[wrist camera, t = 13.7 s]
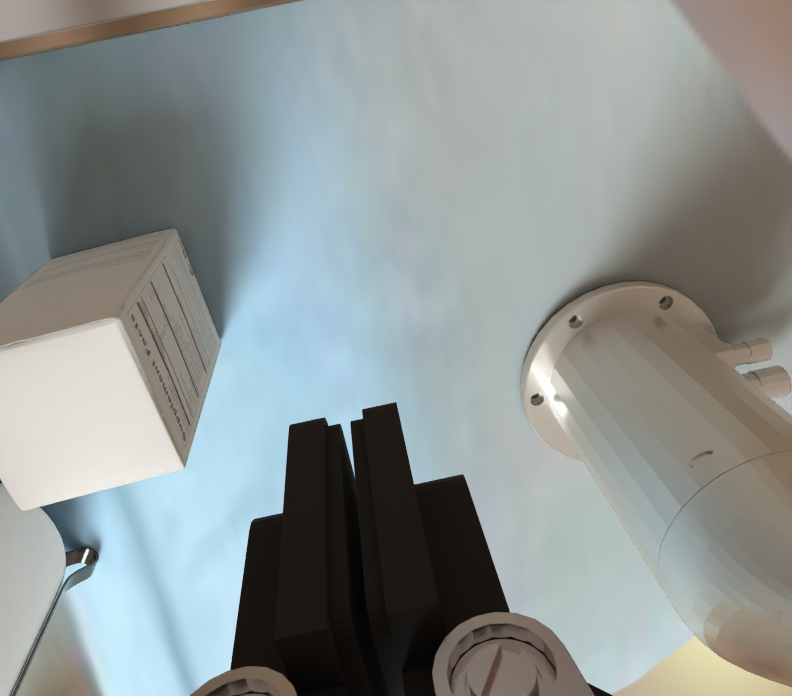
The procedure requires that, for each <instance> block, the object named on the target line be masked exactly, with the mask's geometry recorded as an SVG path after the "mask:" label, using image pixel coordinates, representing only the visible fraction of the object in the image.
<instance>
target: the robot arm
mask: <svg viewBox="0 0 792 696" xmlns="http://www.w3.org/2000/svg"><path fill="white" fill-rule="evenodd" d="M573 316H574V317H573ZM571 317H573V319H571ZM570 319H571V320H570ZM772 354H773V352H772V347H771V344H770V342H769V341H768V340H767V339H766V338H759V339H754V340H749V341H745V342H742V343H740V344H736V345H731V346H730V345H729V344H728V343H723V342H722V341H720V340H719V339H718V338H717V336H716V333H715V330H714V327H713V325H712V323H711V322H710V320H709V319H708V317H707V316H706V314H705V313H704V311H703V310H702V309H701V308H700V307H698V306H697V305H696V304H695V303H694V302H693V301H692V300H690V299H689V298H687V297H686V296H684V295H683V294H681V293H680V292H678V291H677V290H674V289H672V288H669V287H667V286H664V285H662V284H656V283H650V282H644V281H635V282H621V283H616V284H611V285H606V286H603V287H600V288H598V289H595V290H593V291H590V292H588V293H585V294H584V295H582V296H580V297H579V298H577V299H575V300H574V301H572V302H570V303H569V304H567V305H566V306H565V307H564V308H562V309H561V310H560V311H559V312H558V313H556V314H555V315H554V316H553V317H552V318H551V319H550V320H549V321H548V323H547V324H546V325H545V326H544V327H543V328H542V330H541V331H540V332H539V333H538V335H537V337H536V338H535V340H534V342H533V344H532V345H531V347H530V349H529V351H528V354H527V357H526V359H525V362H524V365H523V370H522V376H521V382H520V385H521V400H522V403H523V407H524V410H525V414H526V416H527V418H528V420H529V422H530V424H531V426H532V427H533V429H534V430H535V432H536V433H537V434H538V436H539V437H540V439H541V440H542V441H543V442H545V443H546V444H547V445H548V446H549V447H550V448H551V449H553V450H554V451H556V452H558V453H560V454H562V455H564V456H565V457H568V458H571V459H574V460H577V461H581V462H583V463H584V465H585V466H586V468H587V469H588V471H589V473H590V474H591V476H592V477H593V479H594V481H595V482H596V484H597V486H598V487H599V489H600V490H601V492H602V494H603V495H604V497H605V498H606V500H607V502H608V503H609V505H610V506H611V508H612V510H613V511H614V513H615V514H616V516H617V518H618V519H619V521H620V522H621V524H622V526H623V527H624V529H625V531H626V532H627V534H628V535H629V537H630V539H631V540H632V542H633V543H634V545H635V547H636V548H637V550H638V551H639V553H640V555H641V556H642V558H643V559H644V561H645V563H646V564H647V566H648V567H649V569H650V571H651V572H652V574H653V575H654V577H655V579H656V580H657V582H658V584H659V585H660V587H661V588H662V590H663V592H664V593H665V595H666V596H667V598H668V599H669V601H670V602H671V604H672V606H673V607H674V609H675V610H676V612H677V614H678V615H679V617H680V618H681V619H682V621H683V622H684V623H685V625H686V626H687V627H688V629H689V630H690V631H691V632H692V633H693V634H694V635H695V636H696V637H697V638H698V639H699V640H700V641H701V642H702V643H703V644H704V645H705V646H707V647H708V648H709V649H711V650H712V651H713V652H714V653H716V654H717V655H718V656H720V657H722V658H723V659H725V660H726V661H728V662H730V663H732V664H734V665H736V666H738V667H740V668H742V669H744V670H746V671H748V672H750V673H753V674H755V675H758V676H761V677H763V678H766V679H768V680H771V681H774V682H777V683H780V684H784V685H787V686H790V687H792V415H791V414H789V413H788V412H787V411H786V410H785V409H783V408H782V407H781V406H780V405H778V404H777V403H776V402H775V401H773V400H772V399H774V398H779V397H784V396H787V395H788V394H789V393H790V392H791V387H792V386H791V379H790V377H789V375H788V373H787V371H786V370H785V369H784V368H783V367H781V366H778V365H777V366H773V367H768V368H763V369H759V370H754V371H750V372H748V373H747V374H742V375H741V374H740V373H738V372H737V371H736V370H735V366H738V365H742V364H752V363H757V362H762V361H766V360H769V359H771V357H772ZM534 394H535V395H534ZM362 413H363V419H360V420H355V421H351V435H352V446H353V458H354V469H355V477H354V473H353V469H352V465H351V461H350V458H349V454H348V450H347V446H346V442H345V438H344V434H343V431H342V427H341V425H340V424H336V425H332V426H328V423H327V421H326V419H325V418H320V419H315V420H311V421H306V422H301V423H297V424H292V425H290V426H289V436H288V450H287V464H286V478H285V492H284V506H283V513H281V514H276V515H271V516H267V517H262V518H257V519H254V520H253V521H252V522H251V526H250V530H249V537H248V545H247V552H246V559H245V567H244V574H243V581H242V589H241V596H240V603H239V611H238V618H237V625H236V633H235V640H234V647H233V655H232V662H231V670H229V671H227V672H225V673H223V674H221V675H219V676H217V677H215V678H213V679H211V680H209V681H207V682H206V683H205V684H204V685H202V686H201V687H200V688H199V689H197V690H196V691H195V692H194V693H192V694H191V695H190V696H612V695H611V694H609V693H607V692H605V691H603V690H601V689H599V688H597V687H595V686H593V685H591V684H589V683H587V682H586V680H585V679H584V677H583V675H582V674H581V672H580V670H579V669H578V667H577V665H576V664H575V662H574V660H573V659H572V657H571V656H570V654H569V652H568V651H567V649H566V647H565V646H564V644H563V643H562V642H561V641H560V640H559V638H558V637H557V636H556V635H555V634H554V632H553V631H552V630H551V629H549V628H548V627H546V626H545V625H543V624H541V623H540V622H538V621H537V620H535V619H533V618H530V617H527V616H523V615H520V614H517V613H510V611H509V608H508V605H507V602H506V599H505V596H504V593H503V590H502V587H501V584H500V581H499V578H498V575H497V572H496V569H495V566H494V563H493V560H492V557H491V554H490V551H489V548H488V545H487V542H486V539H485V536H484V533H483V530H482V527H481V524H480V521H479V518H478V515H477V512H476V509H475V506H474V503H473V500H472V497H471V494H470V491H469V488H468V485H467V483H466V480H465V477H464V476H463V474H462V475H457V476H452V477H448V478H443V479H439V480H434V481H429V482H425V483H420V484H415V485H414V483H413V478H412V473H411V469H410V464H409V460H408V455H407V450H406V446H405V441H404V436H403V432H402V427H401V422H400V418H399V413H398V408H397V404H396V402H395V403H391V404H386V405H381V406H376V407H372V408H367V409H363V410H362Z"/></svg>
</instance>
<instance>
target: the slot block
mask: <svg viewBox="0 0 792 696" xmlns="http://www.w3.org/2000/svg"><path fill="white" fill-rule="evenodd" d="M296 1H301V0H0V61H2V60H7V59H12V58H17V57H22V56H27V55H32V54H37V53H42V52H47V51H52V50H57V49H62V48H67V47H72V46H77V45H82V44H87V43H92V42H97V41H102V40H107V39H112V38H117V37H122V36H127V35H132V34H137V33H142V32H147V31H152V30H157V29H162V28H167V27H172V26H177V25H182V24H187V23H192V22H197V21H202V20H207V19H212V18H217V17H222V16H226V15H231V14H236V13H241V12H246V11H251V10H256V9H261V8H266V7H271V6H276V5H281V4H286V3H291V2H296Z"/></svg>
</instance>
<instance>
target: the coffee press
mask: <svg viewBox="0 0 792 696" xmlns="http://www.w3.org/2000/svg"><path fill="white" fill-rule="evenodd" d="M98 558H99V555H98V553H97V552H96V551H95V550H94V549H92V548H88V547H83V548H79V549H75V550H72V551H69V552H65V549H64V545H63V541H62V538H61V536H60V534H59V532H58V530H57V528H56V526H55V525H54V523H53V522H52V520H51V519H50V518H49V516H48V515H47V514H46V513H45V512H44V511H43V510H42V509H41V508H40V507H37V508H34V509H30V510H26V511H23V510H21V509H20V508H19V507H18V505H17V504H16V503H15V501H14V500H13V498H12V497H11V495H10V494H9V492H8V491H7V489H6V487H5V486H4V484H2V481H1V479H0V696H11V694H12V692H13V690H14V688H15V686H16V683H17V681H18V679H19V677H20V675H21V673H22V670H23V668H24V666H25V664H26V662H27V659H28V657H29V655H30V653H31V651H32V649H33V646H34V644H35V642H36V640H37V638H38V636H39V633H40V631H41V629H42V627H43V625H44V622H45V620H46V618H47V616H48V614H49V611H50V609H51V607H52V605H53V603H54V600H55V598H56V596H57V594H58V591H59V589H60V586H61V584H62V581H63V578H64V574H65V568H66V567H67V566H70V565H73V564H76V563H84V564H87V566H85V567H83V568H81V569H79V570H77V571H76V572H74V573H73V574H71V575H70V576H69V577H68V578H67V579H66V581H65V583H64V584H63V586H62V588H61V590H60V593H59V595H58V597H57V599H56V601H55V603H54V605H53V608H52V610H51V612H50V614H49V616H48V618H47V621H46V623H45V625H44V627H43V629H42V631H41V634H40V636H39V638H38V640H37V642H36V644H35V647H34V649H33V651H32V653H31V655H30V657H29V660H28V662H27V664H26V666H25V668H24V670H23V673H22V675H21V677H20V679H19V681H18V683H17V686H16V688H15V690H14V692H13V694H12V696H16V695H17V693H18V690H19V688H20V686H21V684H22V682H23V679H24V677H25V675H26V673H27V671H28V668H29V666H30V664H31V662H32V660H33V657H34V655H35V653H36V651H37V649H38V646H39V644H40V642H41V640H42V638H43V635H44V633H45V631H46V629H47V627H48V624H49V622H50V620H51V618H52V616H53V614H54V611H55V609H56V607H57V605H58V603H59V601H60V599H61V597H62V596H63V594H64V593H65V592H66V591H67V590H68V589H70V588H71V587H73V586H74V585H76V584H78V583H80V582H82V581H84V580H86V579H87V578H89V577H90V576H91V575H92V574H93V571H94V569H95V566H96V564H97V561H98Z"/></svg>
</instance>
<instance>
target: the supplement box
mask: <svg viewBox="0 0 792 696" xmlns="http://www.w3.org/2000/svg"><path fill="white" fill-rule="evenodd" d="M220 347H221V340H220V338H219V336H218V333H217V331H216V328H215V325H214V323H213V320H212V318H211V315H210V313H209V310H208V308H207V305H206V303H205V300H204V298H203V295H202V292H201V290H200V287H199V285H198V282H197V279H196V277H195V274H194V272H193V269H192V267H191V264H190V262H189V259H188V257H187V254H186V251H185V249H184V247H183V244H182V241H181V239H180V236H179V234H178V231H177V229H176V228H171V229H167V230H163V231H158V232H154V233H150V234H146V235H142V236H138V237H134V238H130V239H126V240H122V241H119V242H115V243H111V244H107V245H103V246H100V247H96V248H92V249H88V250H84V251H81V252H77V253H73V254H69V255H65V256H62V257H58V258H54V259H50V260H49V261H48V262H47V263H46V264H45V265H43V266H42V267H41V268H40V269H39V270H37V271H36V272H35V273H34V274H33V275H32V276H31V277H29V278H28V279H27V280H26V281H25V282H24V283H23V284H22V285H20V286H19V287H18V288H17V289H16V290H15V291H13V292H12V293H11V294H10V295H9V296H8V297H7V298H5V299H4V300H3V301H2V302H1V303H0V479H1V481H2V483H3V484H4V486H5V487H6V489H7V491H8V492H9V494H10V495H11V497H12V498H13V500H14V501H15V503H16V504H17V505H18V507H19V508H20V509H21V510H23V511H26V510H30V509H34V508H37V507H41V506H45V505H48V504H52V503H56V502H60V501H64V500H67V499H71V498H75V497H79V496H83V495H87V494H90V493H94V492H98V491H102V490H106V489H109V488H113V487H117V486H121V485H125V484H129V483H132V482H136V481H140V480H144V479H148V478H152V477H156V476H160V475H164V474H167V473H171V472H175V471H180V470H183V469H185V466H186V462H187V459H188V455H189V452H190V448H191V445H192V442H193V438H194V435H195V432H196V428H197V425H198V421H199V418H200V415H201V411H202V407H203V404H204V401H205V397H206V394H207V391H208V387H209V384H210V380H211V377H212V374H213V370H214V367H215V364H216V361H217V357H218V354H219V350H220Z"/></svg>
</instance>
